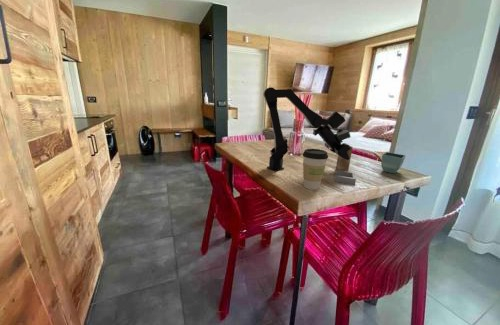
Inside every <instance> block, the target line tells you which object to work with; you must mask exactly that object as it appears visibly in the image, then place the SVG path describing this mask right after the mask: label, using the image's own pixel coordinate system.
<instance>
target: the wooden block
mask: <svg viewBox="0 0 500 325" xmlns="http://www.w3.org/2000/svg"><path fill="white" fill-rule="evenodd" d="M348 145H349V144H348ZM349 146H350V147H351V149H350V150H348V151H347V153H348V156H349V158H350V159H349V160H346V159H344V158H342V157H340V156H338V155H337V159H336V166H335V171H336V170H340V171H347V172H349V170H350V164H351V158H352V153H353V146H352V145H351V144H350V145H349Z"/></svg>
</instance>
